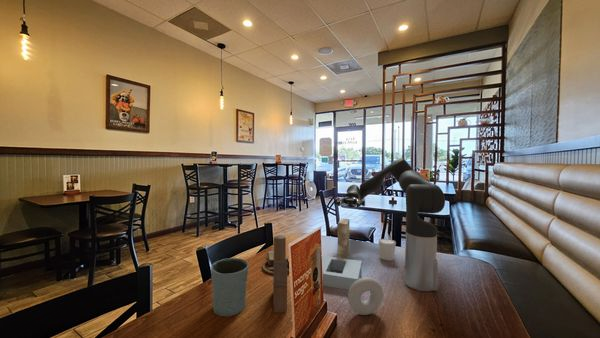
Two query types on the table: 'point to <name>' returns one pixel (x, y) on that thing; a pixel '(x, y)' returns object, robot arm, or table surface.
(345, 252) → the plank
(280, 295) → the wooden block
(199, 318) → the table surface
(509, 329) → the table surface
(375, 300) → the donut
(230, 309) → the grey-blue cup
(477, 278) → the table surface
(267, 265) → the toy sandwich meal
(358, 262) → the slotted base
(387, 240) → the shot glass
